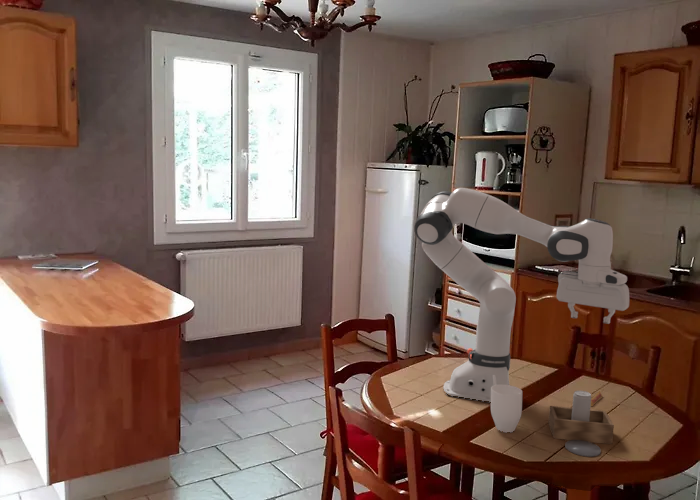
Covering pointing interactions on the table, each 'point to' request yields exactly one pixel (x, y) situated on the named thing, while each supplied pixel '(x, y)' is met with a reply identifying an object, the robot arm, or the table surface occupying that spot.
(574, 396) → the beverage can
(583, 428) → the box
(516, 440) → the table surface
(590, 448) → the slate coaster
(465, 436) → the table surface
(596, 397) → the chocolate bar
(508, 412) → the mug
